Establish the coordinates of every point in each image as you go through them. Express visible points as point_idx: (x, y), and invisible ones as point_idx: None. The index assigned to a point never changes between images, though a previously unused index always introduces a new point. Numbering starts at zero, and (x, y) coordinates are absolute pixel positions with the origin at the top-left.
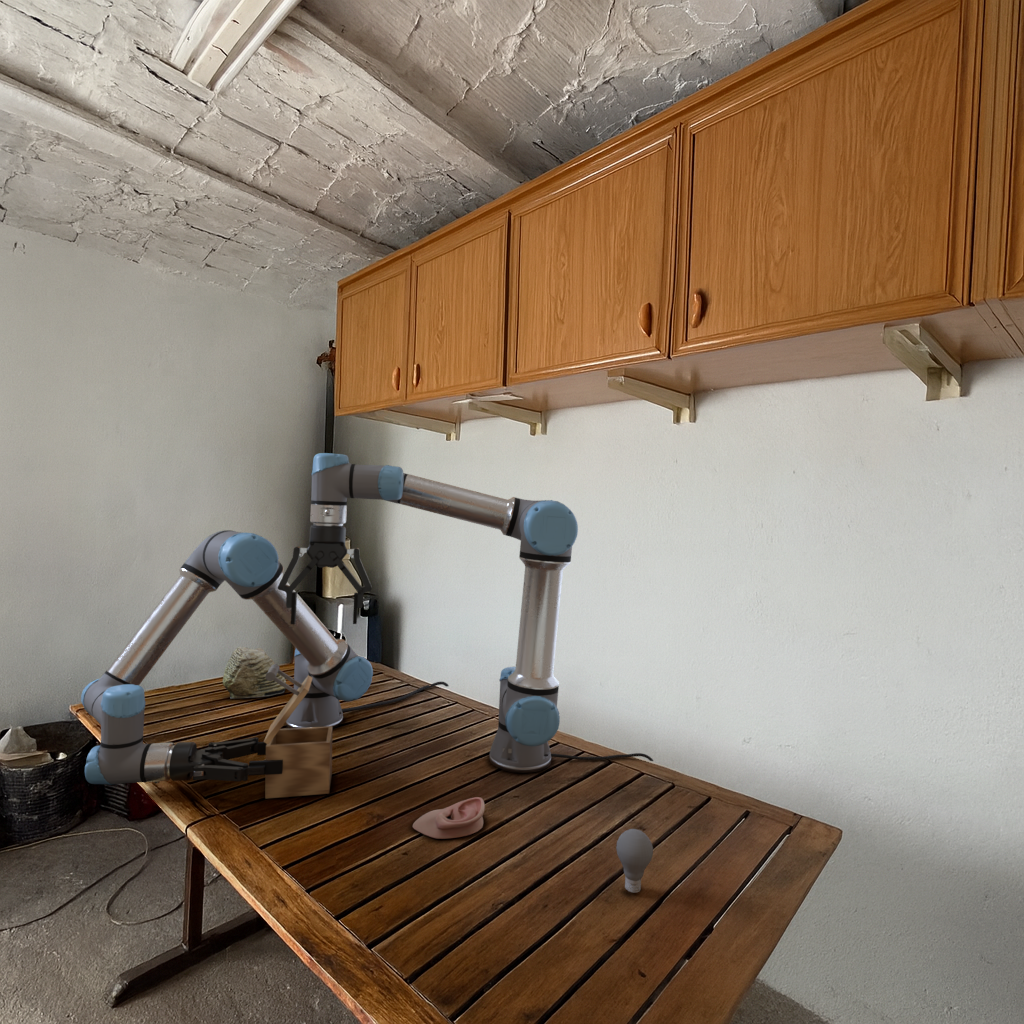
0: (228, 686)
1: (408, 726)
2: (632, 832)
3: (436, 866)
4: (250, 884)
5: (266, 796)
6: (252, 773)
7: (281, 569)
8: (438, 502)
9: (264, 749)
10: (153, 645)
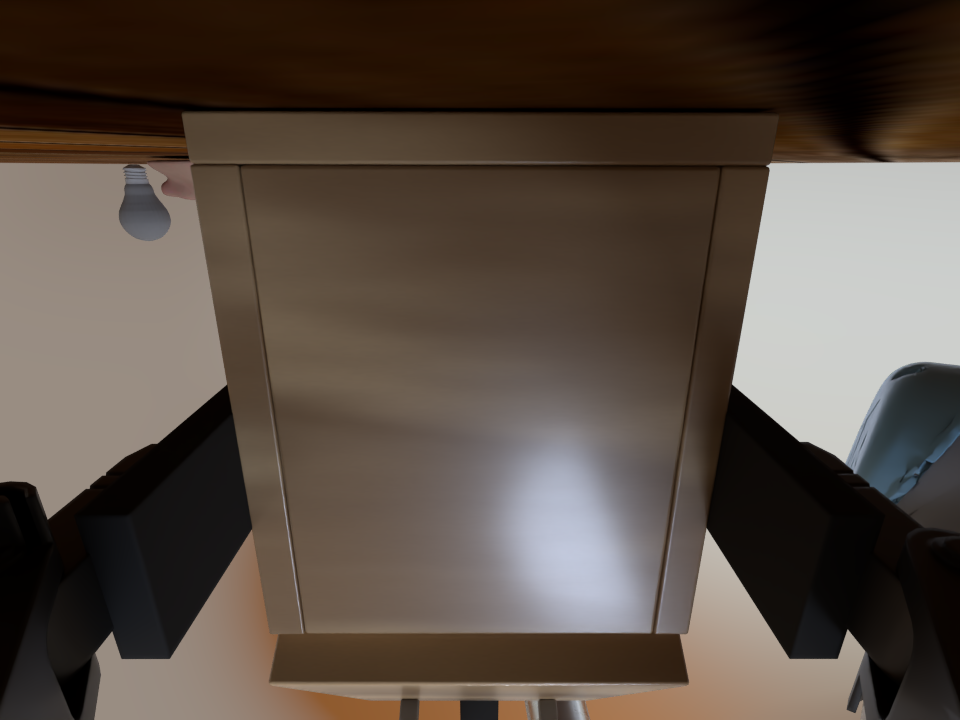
0: None
1: (934, 157)
2: (146, 240)
3: (28, 156)
4: None
5: (194, 140)
6: (57, 526)
7: None
8: (529, 710)
9: (757, 521)
10: None
